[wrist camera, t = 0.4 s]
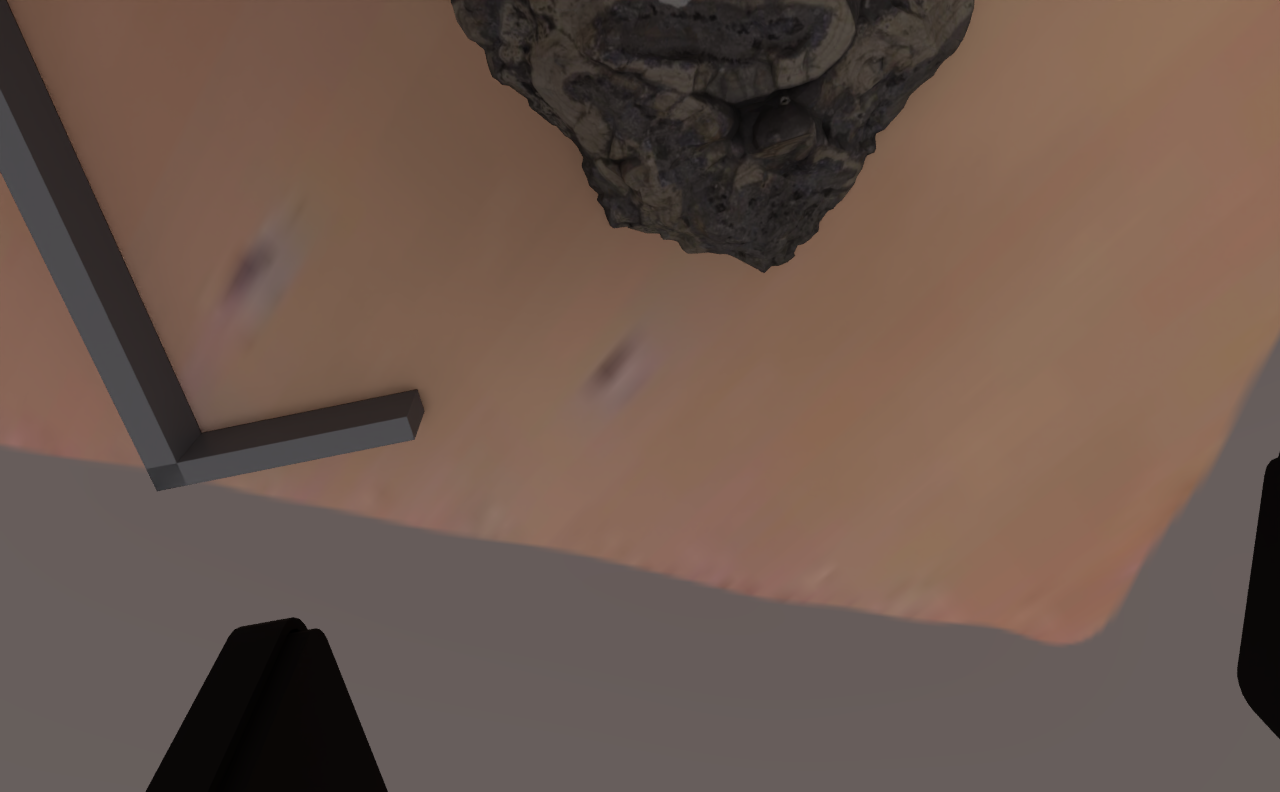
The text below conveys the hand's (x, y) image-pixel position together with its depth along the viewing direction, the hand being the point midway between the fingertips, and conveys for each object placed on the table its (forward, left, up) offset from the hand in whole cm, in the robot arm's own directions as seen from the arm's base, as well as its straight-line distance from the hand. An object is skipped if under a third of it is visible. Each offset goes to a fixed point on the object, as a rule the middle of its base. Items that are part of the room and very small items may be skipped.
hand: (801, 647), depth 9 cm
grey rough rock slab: (-3, +2, -28) cm, 28 cm away
